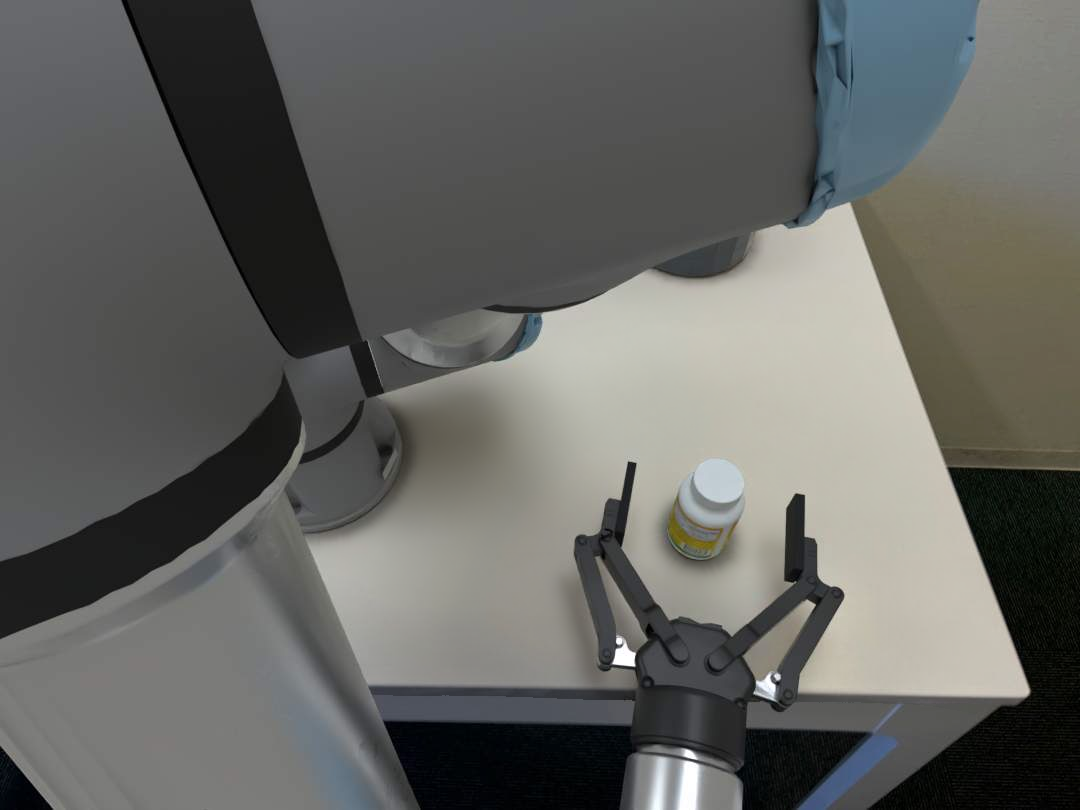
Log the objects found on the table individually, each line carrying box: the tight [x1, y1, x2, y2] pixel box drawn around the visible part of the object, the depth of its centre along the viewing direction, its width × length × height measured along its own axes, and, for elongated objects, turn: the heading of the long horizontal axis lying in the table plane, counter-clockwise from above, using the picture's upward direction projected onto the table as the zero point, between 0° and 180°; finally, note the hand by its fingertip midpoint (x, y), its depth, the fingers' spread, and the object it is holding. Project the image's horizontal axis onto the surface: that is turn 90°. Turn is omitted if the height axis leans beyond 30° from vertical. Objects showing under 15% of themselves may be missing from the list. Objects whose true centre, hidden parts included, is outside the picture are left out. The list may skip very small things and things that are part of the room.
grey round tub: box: [654, 231, 757, 277], centre depth 82 cm, size 15×15×6 cm
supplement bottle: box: [666, 457, 746, 561], centre depth 58 cm, size 5×5×10 cm
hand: (711, 485), depth 58 cm, fingers open, 13 cm apart
